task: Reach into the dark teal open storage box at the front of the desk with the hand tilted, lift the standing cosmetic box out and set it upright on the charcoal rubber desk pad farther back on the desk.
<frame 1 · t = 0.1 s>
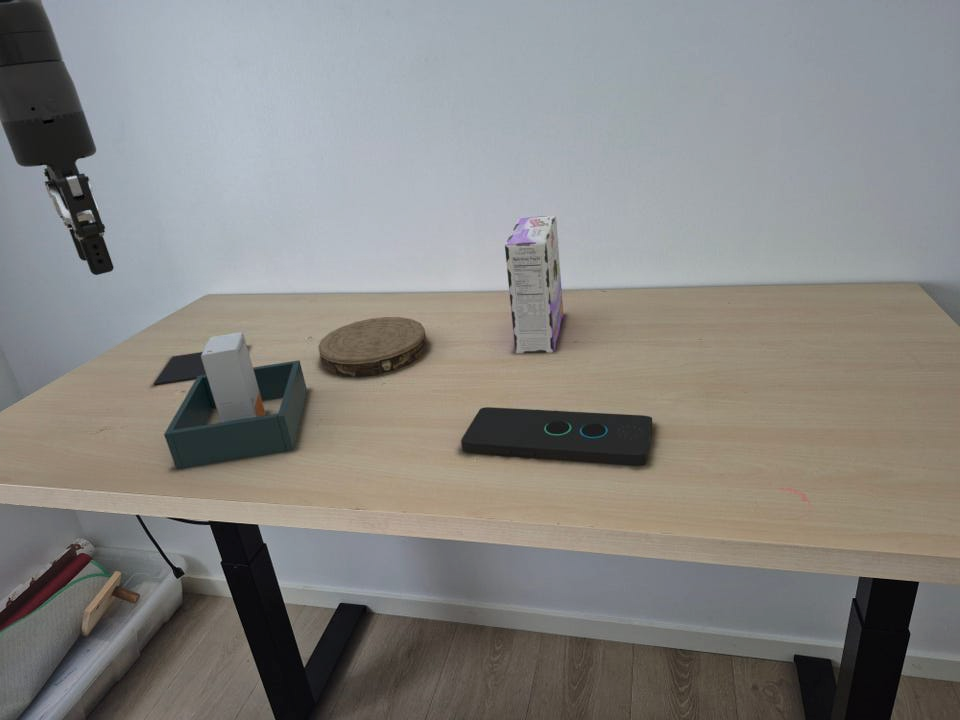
hand: (97, 265, 78), 23 cm above the table, tool pointing down, fingers open, 8 cm apart
smart home device: (557, 442, 77), on the table
desk pad: (203, 366, 109), on the table
brown flat disc: (375, 356, 105), on the table
cosmetic box: (248, 429, 89), resting in storage box
candy box: (540, 336, 105), on the table
storage box: (247, 428, 89), on the table
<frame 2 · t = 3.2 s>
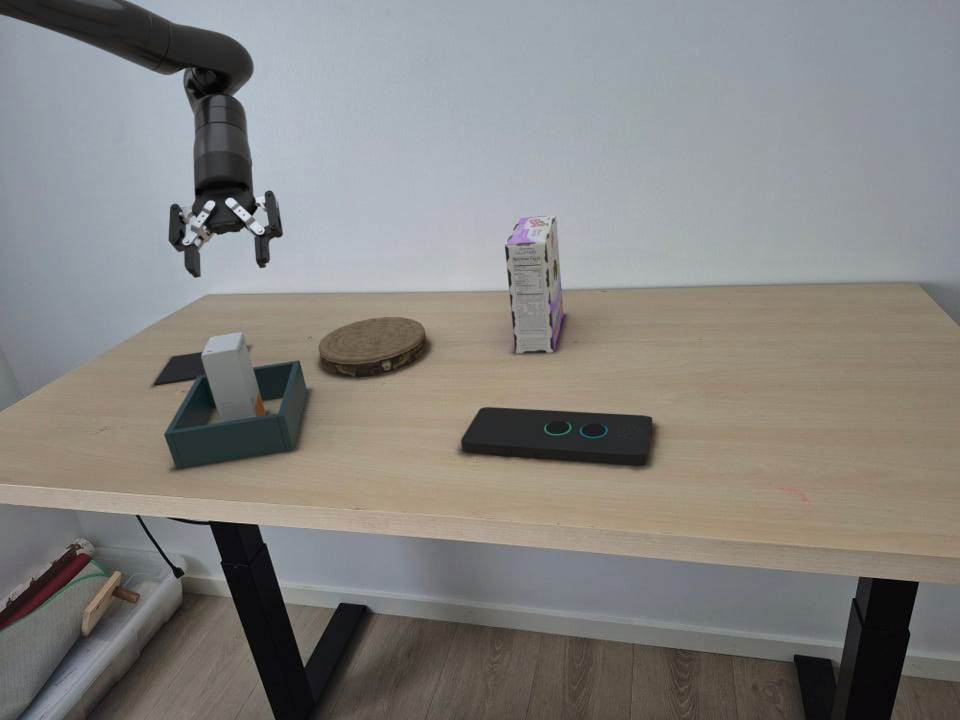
hand: (228, 270, 91), 18 cm above the table, tool tilted 45°, fingers open, 8 cm apart
nothing on the table moved.
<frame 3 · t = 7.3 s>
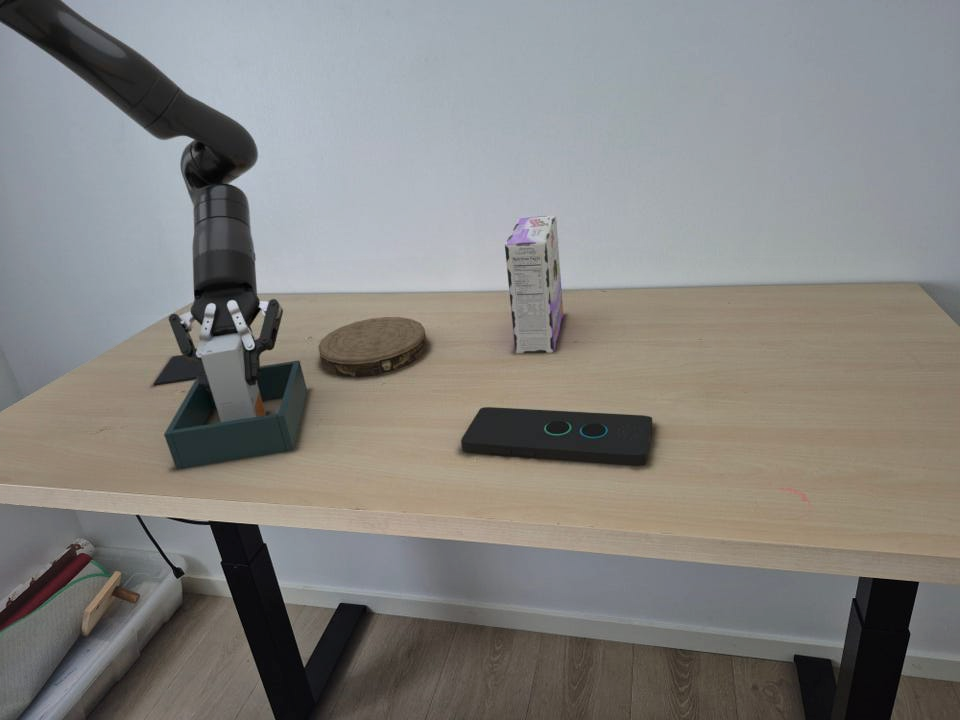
hand: (230, 385, 84), 7 cm above the table, tool tilted 45°, fingers closed on cosmetic box, 4 cm apart
cosmetic box: (248, 429, 89), resting in storage box, touching gripper
everything else where it was.
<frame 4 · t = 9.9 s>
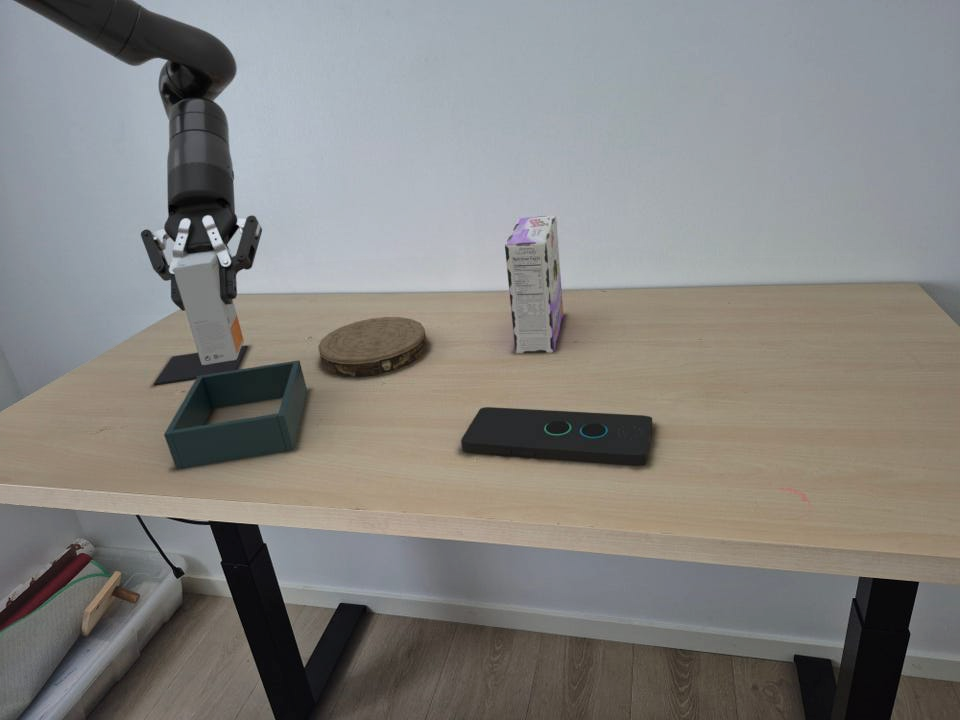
hand: (204, 303, 79), 18 cm above the table, tool tilted 45°, fingers closed on cosmetic box, 4 cm apart
cosmetic box: (224, 354, 84), point 10 cm above the table, touching gripper
everything else where it was.
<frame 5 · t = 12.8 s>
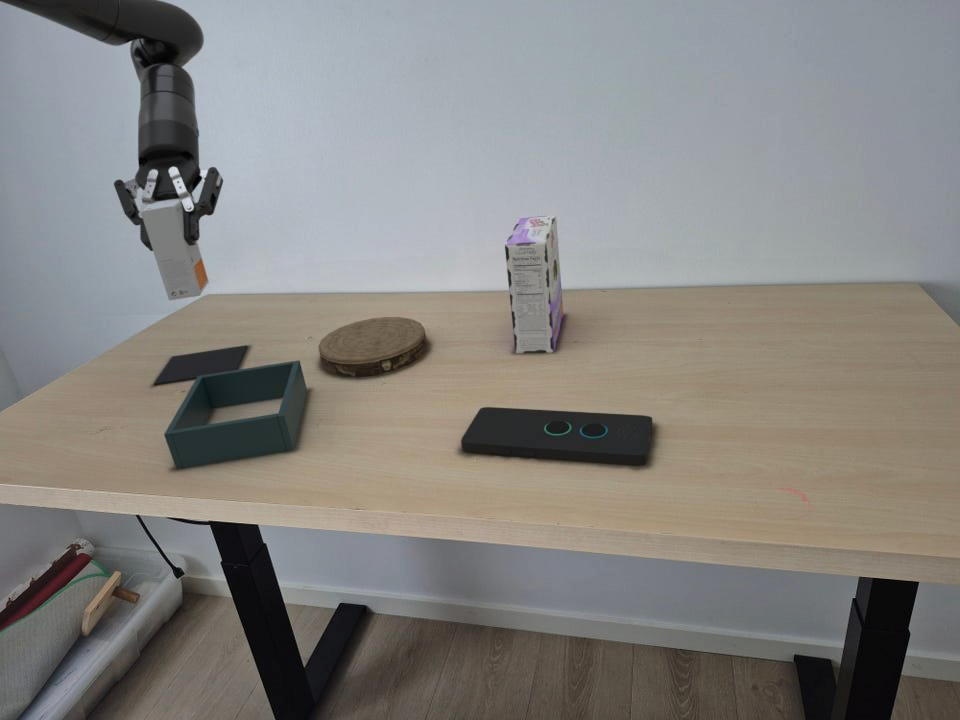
hand: (170, 244, 89), 22 cm above the table, tool tilted 45°, fingers closed on cosmetic box, 4 cm apart
cosmetic box: (190, 292, 94), point 15 cm above the table, touching gripper
everything else where it was.
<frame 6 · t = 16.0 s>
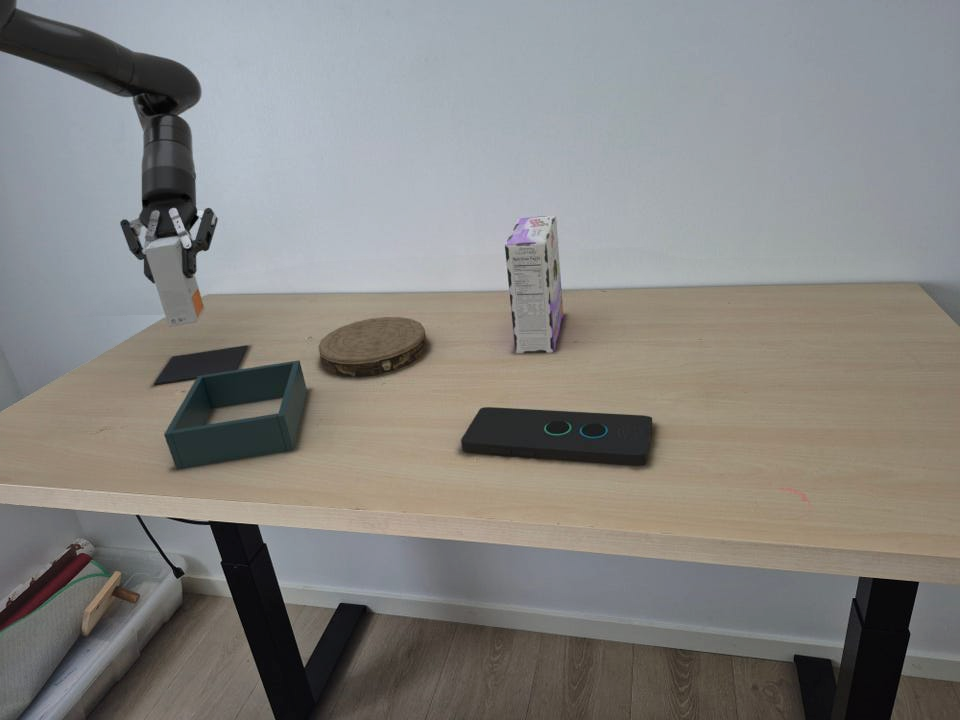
hand: (170, 277, 101), 15 cm above the table, tool tilted 45°, fingers closed on cosmetic box, 4 cm apart
cosmetic box: (188, 319, 105), point 8 cm above the table, touching gripper
everything else where it was.
when the fingers open (8 cm above the table, at t = 18.5 s): cosmetic box stays where it is, resting on desk pad.
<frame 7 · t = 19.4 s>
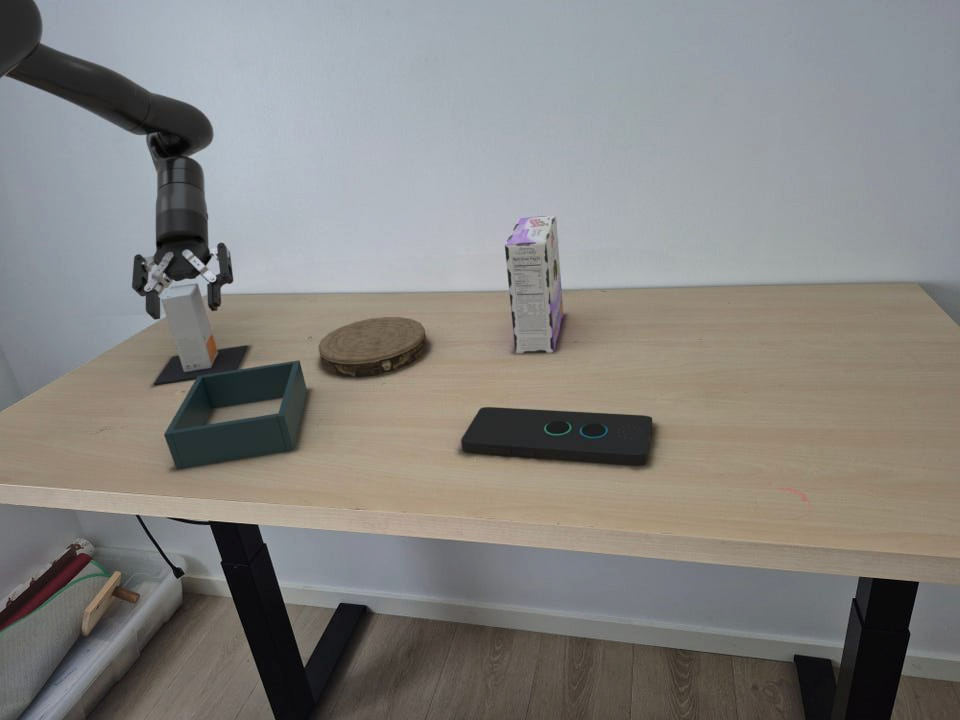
hand: (184, 313, 104), 9 cm above the table, tool tilted 45°, fingers open, 8 cm apart
cosmetic box: (202, 364, 109), resting on desk pad
everything else where it was.
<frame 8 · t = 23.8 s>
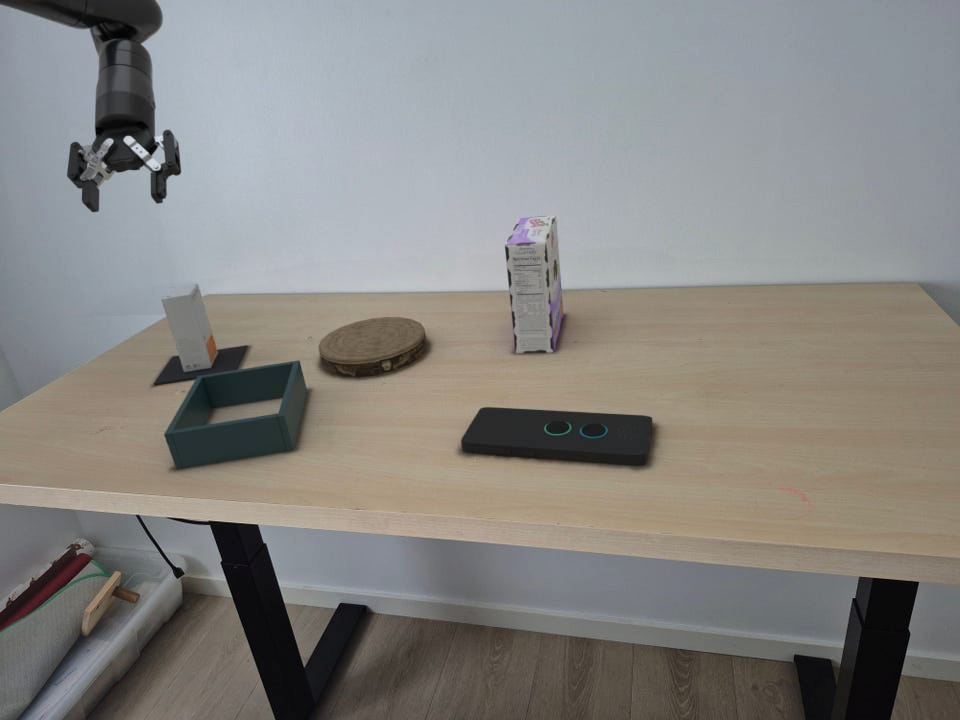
hand: (124, 204, 93), 27 cm above the table, tool tilted 45°, fingers open, 8 cm apart
nothing on the table moved.
at the end: cosmetic box inside the target area on the desk pad (0.2 cm from its centre), point 0.4 cm above the desk pad's base; cosmetic box tilted 0°; the gripper is holding nothing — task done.
